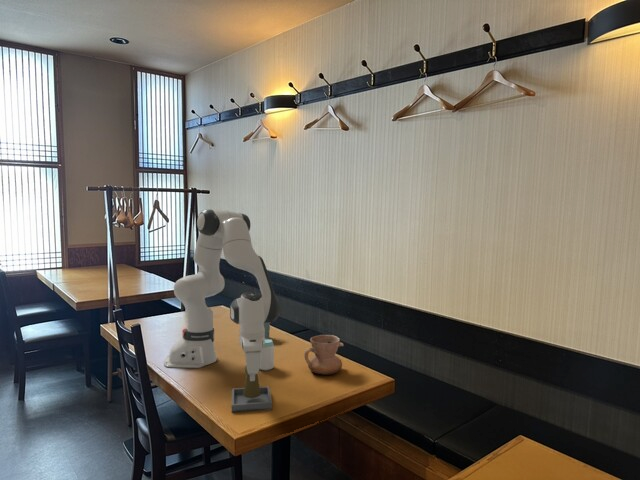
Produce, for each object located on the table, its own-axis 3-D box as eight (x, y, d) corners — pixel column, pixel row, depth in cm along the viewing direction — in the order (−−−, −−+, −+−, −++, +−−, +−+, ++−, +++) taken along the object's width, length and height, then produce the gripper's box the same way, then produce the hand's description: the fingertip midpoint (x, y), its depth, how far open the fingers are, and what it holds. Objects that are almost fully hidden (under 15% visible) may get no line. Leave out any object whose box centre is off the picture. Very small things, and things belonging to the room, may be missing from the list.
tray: (231, 412, 151) (231, 405, 150) (232, 395, 164) (232, 388, 164) (271, 409, 153) (272, 402, 153) (269, 392, 166) (269, 386, 166)
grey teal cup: (274, 337, 233) (274, 315, 232) (263, 343, 225) (263, 319, 224) (258, 334, 238) (258, 312, 237) (246, 339, 229) (246, 317, 228)
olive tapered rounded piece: (244, 390, 162) (244, 361, 161) (261, 390, 162) (261, 361, 161) (242, 397, 155) (242, 367, 155) (259, 398, 156) (259, 367, 155)
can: (271, 371, 187) (271, 343, 186) (254, 370, 188) (255, 342, 187) (275, 365, 194) (275, 338, 193) (260, 364, 195) (260, 337, 194)
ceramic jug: (335, 362, 199) (335, 331, 198) (350, 374, 186) (350, 340, 185) (297, 369, 192) (297, 336, 190) (311, 381, 178) (311, 346, 177)
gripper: (242, 330, 166) (242, 366, 167) (243, 348, 146) (243, 389, 147) (259, 330, 167) (259, 366, 169) (262, 347, 147) (262, 388, 149)
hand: (252, 377), depth 158 cm, fingers closed on olive tapered rounded piece, 4 cm apart
